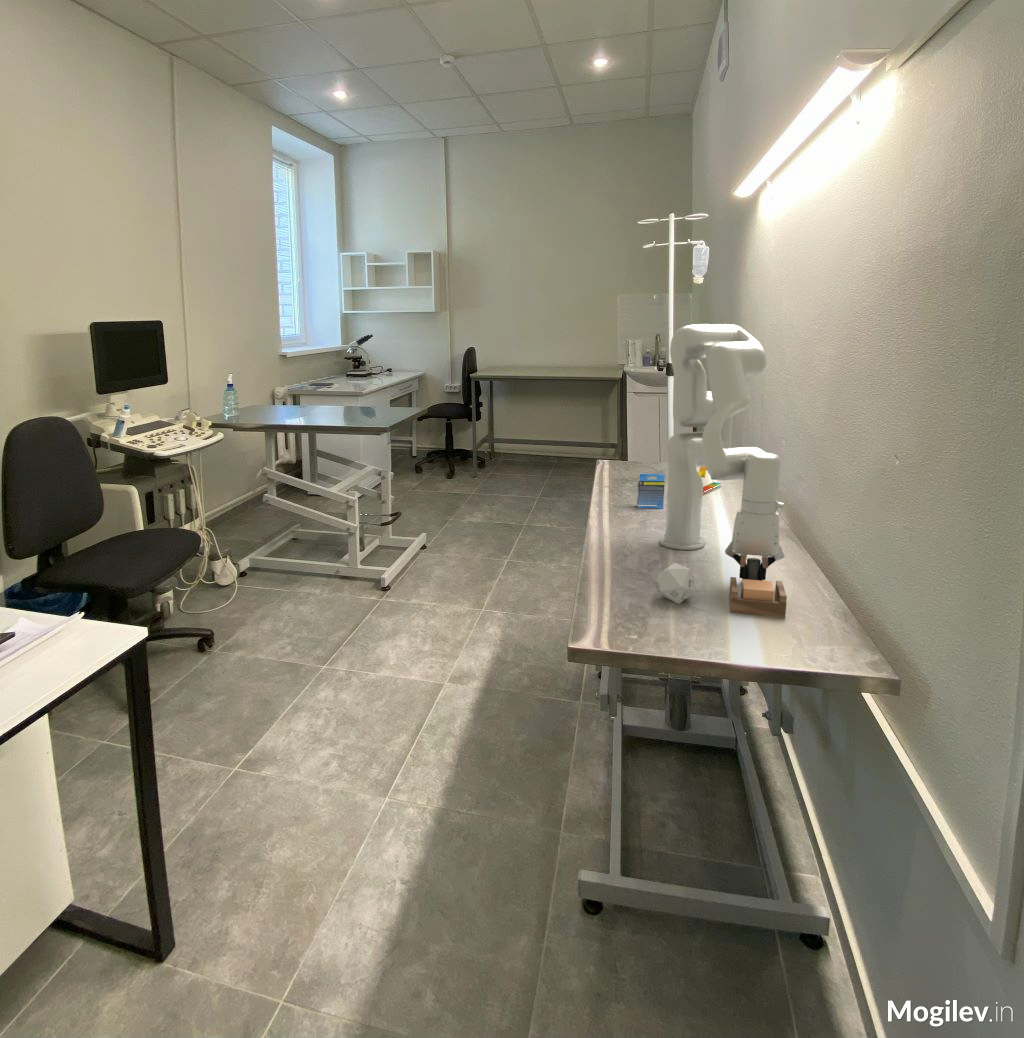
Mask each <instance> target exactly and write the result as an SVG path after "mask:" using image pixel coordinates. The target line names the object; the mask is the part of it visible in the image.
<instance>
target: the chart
mask: <svg viewBox="0 0 1024 1038" xmlns="http://www.w3.org/2000/svg"><path fill="white" fill-rule="evenodd" d="M697 472H698V474H699V475H700V477H701V478H706V475H707V469H706V466H701V467H699V470H698V471H697ZM710 479H711V480H713V481H716V480H715V479H713V478H712V477H711V476H710ZM719 484H721V485H719ZM717 485H719V486H717ZM715 486H717V487H715ZM713 487H715V488H713ZM721 487H722V483H721V482H711V483H709V484H706V485H703V494H702V497H703V496H704V495H707V494H709V493H711V492H713V491H716V490H718V489H720V488H721ZM710 488H712V489H710ZM708 489H710V490H708ZM706 490H708V491H706ZM704 491H706V492H704Z"/></svg>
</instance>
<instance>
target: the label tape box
mask: <svg viewBox="0 0 1024 1038" xmlns="http://www.w3.org/2000/svg"><path fill="white" fill-rule="evenodd" d="M665 475H666V474H665V473H639V474H638V482H637V485H636V486H637V487H636V489H637V490H636V507H637V509H664V502H665V501H664V500H665V485H666V484H665V483H666V480H665V478H666V476H665ZM651 477H652V478H651ZM637 504H638V505H657V506H638V505H637Z"/></svg>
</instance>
